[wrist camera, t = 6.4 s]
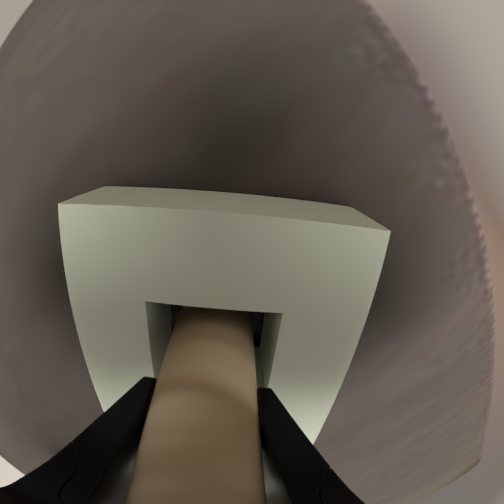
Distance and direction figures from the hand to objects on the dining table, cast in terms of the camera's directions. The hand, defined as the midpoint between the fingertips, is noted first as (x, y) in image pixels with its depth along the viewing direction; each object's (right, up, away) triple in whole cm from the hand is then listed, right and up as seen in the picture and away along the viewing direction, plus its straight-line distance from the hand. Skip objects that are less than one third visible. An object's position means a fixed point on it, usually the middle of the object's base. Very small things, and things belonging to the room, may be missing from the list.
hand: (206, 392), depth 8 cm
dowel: (0, +1, +3) cm, 4 cm away
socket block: (-1, -3, +6) cm, 7 cm away
